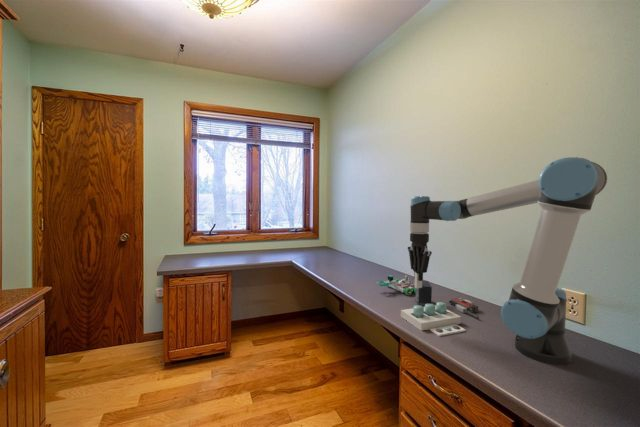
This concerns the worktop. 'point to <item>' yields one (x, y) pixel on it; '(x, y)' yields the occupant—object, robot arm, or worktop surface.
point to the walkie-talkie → (464, 306)
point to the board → (431, 319)
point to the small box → (424, 294)
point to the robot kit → (399, 284)
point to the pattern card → (447, 330)
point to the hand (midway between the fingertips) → (418, 287)
